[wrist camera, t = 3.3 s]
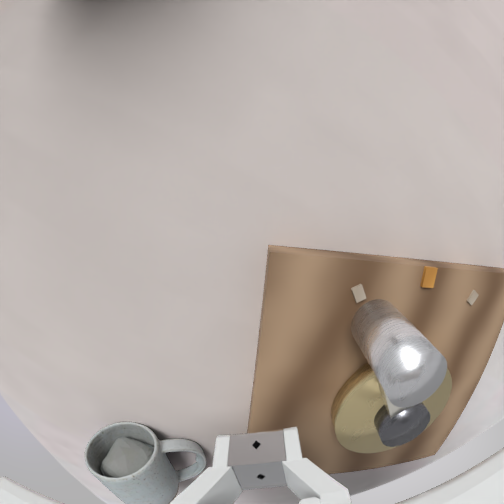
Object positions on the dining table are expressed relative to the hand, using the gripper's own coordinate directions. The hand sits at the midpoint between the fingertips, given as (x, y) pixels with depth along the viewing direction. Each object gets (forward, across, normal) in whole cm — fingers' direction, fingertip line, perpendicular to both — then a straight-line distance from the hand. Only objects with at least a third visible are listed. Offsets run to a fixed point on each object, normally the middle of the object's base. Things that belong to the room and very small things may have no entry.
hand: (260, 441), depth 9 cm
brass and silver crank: (+9, -9, +6) cm, 14 cm away
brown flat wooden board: (+11, -9, +8) cm, 17 cm away
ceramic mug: (+12, +13, +14) cm, 22 cm away
